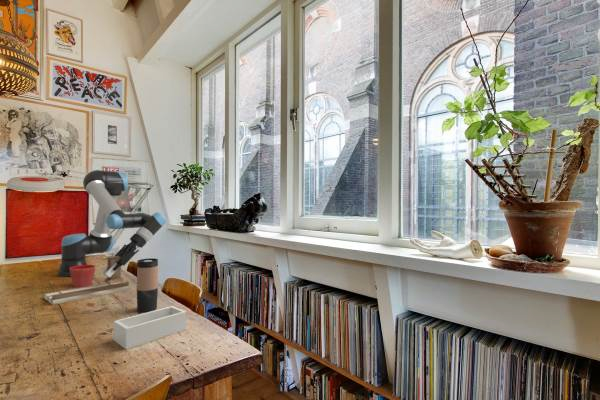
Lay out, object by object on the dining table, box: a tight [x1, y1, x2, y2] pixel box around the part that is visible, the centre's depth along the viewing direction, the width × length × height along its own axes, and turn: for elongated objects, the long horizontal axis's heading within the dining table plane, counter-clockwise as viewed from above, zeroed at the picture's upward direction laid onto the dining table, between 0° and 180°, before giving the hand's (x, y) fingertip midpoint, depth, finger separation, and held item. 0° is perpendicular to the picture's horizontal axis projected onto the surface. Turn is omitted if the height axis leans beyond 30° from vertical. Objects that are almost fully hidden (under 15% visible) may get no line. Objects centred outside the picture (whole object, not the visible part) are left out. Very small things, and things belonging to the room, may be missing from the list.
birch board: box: [43, 281, 130, 306], centre depth 147 cm, size 14×30×4 cm, turn 140°
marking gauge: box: [104, 255, 124, 284], centre depth 154 cm, size 7×6×12 cm
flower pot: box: [70, 264, 96, 288], centre depth 162 cm, size 11×11×10 cm
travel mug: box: [136, 257, 159, 314], centre depth 127 cm, size 8×8×20 cm
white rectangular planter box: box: [113, 305, 188, 350], centre depth 103 cm, size 9×19×6 cm, turn 140°
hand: (105, 274), depth 151 cm, fingers closed on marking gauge, 4 cm apart
